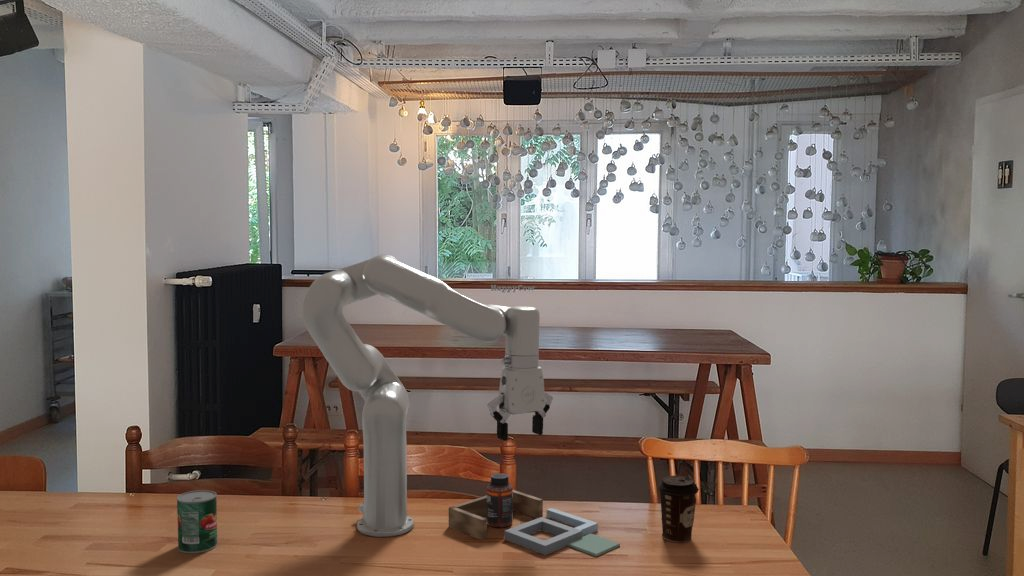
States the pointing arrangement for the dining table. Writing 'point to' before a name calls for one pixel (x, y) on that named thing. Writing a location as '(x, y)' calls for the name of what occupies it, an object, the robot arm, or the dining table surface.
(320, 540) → the dining table surface
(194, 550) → the canned tomato
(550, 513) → the crook tool
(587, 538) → the pad
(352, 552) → the dining table surface
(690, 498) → the coffee cup
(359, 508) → the robot arm
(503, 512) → the supplement bottle
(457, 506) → the cubby
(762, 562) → the dining table surface
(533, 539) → the hole board
